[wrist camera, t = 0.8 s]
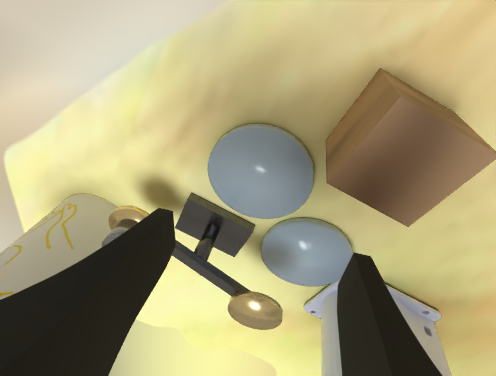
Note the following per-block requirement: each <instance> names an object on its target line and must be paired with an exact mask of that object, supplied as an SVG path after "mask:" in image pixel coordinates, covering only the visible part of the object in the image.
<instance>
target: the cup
mask: <svg viewBox="0 0 496 376" xmlns="http://www.w3.org/2000/svg"><path fill="white" fill-rule="evenodd" d="M115 209H117V207H116V206H115V205H113V204H112V203H110V202H108V201H106V200H104V199H102V198H100V197H97V196H94V195H89V194H75V195H72V196H70V197H68V198H67V199H66V200H65V201H64V202H62V203H61V204H60V205H59V206H57V207H56V208H55V209H54V210H53V211H51V212H50V213H49V214H48V215H47V216H45V217H44V218H43V219H42V220H40V221H39V222H38V223H37V224H36V225H34V226H33V227H32V228H31V229H29V230H28V231H27V232H26V233H25V234H23V235H22V236H21V237H20V238H19V239H17V240H16V241H15V242H14V243H13V244H11V245H10V246H9V247H8V248H6V249H5V250H4V251H3V252H2V253H0V300H1V299H3V298H6V297H8V296H10V295H13V294H15V293H17V292H19V291H22V290H24V289H26V288H28V287H30V286H32V285H34V284H36V283H38V282H41V281H43V280H45V279H47V278H49V277H51V276H53V275H55V274H57V273H59V272H61V271H62V270H64V269H66V268H68V267H70V266H72V265H73V264H75V263H77V262H79V261H80V260H82V259H84V258H85V257H87V256H89V255H90V254H92V253H94V252H95V251H97V250H98V249H100V248H101V247H102V242H103V240H104V239H105V238H106V237H107V236H108V235H109V233H110V232H111V231H112V230H111V229H110V226H109V222H108V221H109V216H110V215H111V214H112V213H113V212H114V210H115Z"/></svg>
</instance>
